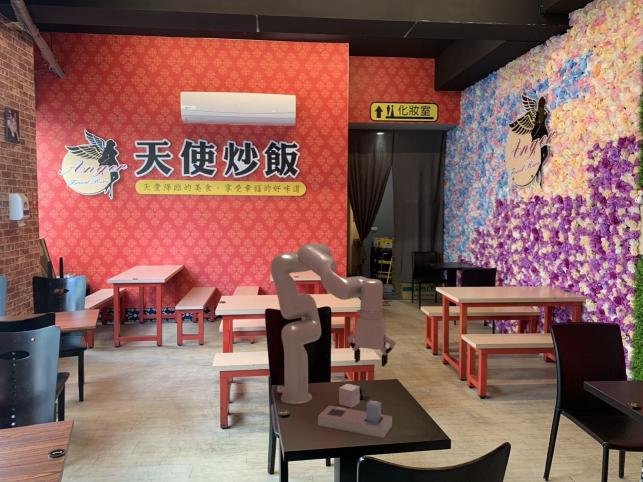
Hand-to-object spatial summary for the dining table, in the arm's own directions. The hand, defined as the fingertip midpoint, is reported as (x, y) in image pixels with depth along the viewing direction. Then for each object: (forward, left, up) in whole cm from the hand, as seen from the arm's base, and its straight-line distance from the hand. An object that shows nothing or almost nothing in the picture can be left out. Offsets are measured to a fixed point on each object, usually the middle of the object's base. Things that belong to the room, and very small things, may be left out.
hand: (370, 363), depth 164 cm
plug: (+2, -2, -22) cm, 22 cm away
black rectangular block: (-14, +25, -24) cm, 37 cm away
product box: (-14, +16, -23) cm, 31 cm away
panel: (-5, -2, -23) cm, 23 cm away
